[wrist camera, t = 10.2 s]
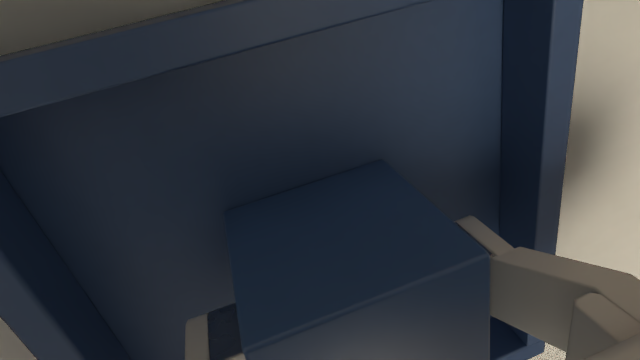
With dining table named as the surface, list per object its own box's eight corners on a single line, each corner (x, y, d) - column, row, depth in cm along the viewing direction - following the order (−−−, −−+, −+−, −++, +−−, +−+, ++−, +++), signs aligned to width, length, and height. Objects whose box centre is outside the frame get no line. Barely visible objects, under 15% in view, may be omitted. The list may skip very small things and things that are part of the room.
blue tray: (-96, 79, 7) (-187, 107, 6) (518, -73, 10) (594, -87, 8) (176, 450, 14) (174, 519, 12) (505, 312, 16) (545, 353, 14)
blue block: (222, 211, 10) (241, 352, 6) (383, 157, 11) (493, 253, 7) (269, 329, 12) (305, 489, 8) (400, 278, 13) (491, 403, 9)
